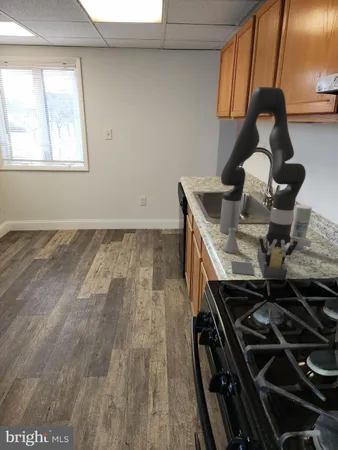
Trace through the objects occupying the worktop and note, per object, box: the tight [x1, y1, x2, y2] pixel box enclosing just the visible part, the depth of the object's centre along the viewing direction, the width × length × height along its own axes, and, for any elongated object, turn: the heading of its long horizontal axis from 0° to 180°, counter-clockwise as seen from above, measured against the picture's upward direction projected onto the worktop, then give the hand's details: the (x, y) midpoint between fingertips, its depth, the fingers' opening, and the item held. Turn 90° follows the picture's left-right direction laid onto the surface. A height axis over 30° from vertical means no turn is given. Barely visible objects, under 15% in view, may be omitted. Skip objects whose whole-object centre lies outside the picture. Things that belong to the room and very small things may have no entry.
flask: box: [221, 228, 239, 254], centre depth 131 cm, size 7×7×10 cm
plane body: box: [256, 239, 288, 281], centre depth 116 cm, size 18×8×10 cm, turn 171°
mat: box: [230, 260, 255, 276], centre depth 117 cm, size 10×8×1 cm
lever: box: [287, 235, 312, 248], centre depth 116 cm, size 16×4×4 cm, turn 63°
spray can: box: [288, 204, 313, 252], centre depth 134 cm, size 6×6×20 cm
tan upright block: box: [269, 247, 283, 268], centre depth 111 cm, size 5×4×6 cm
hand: (273, 263), depth 112 cm, fingers closed on tan upright block, 4 cm apart
